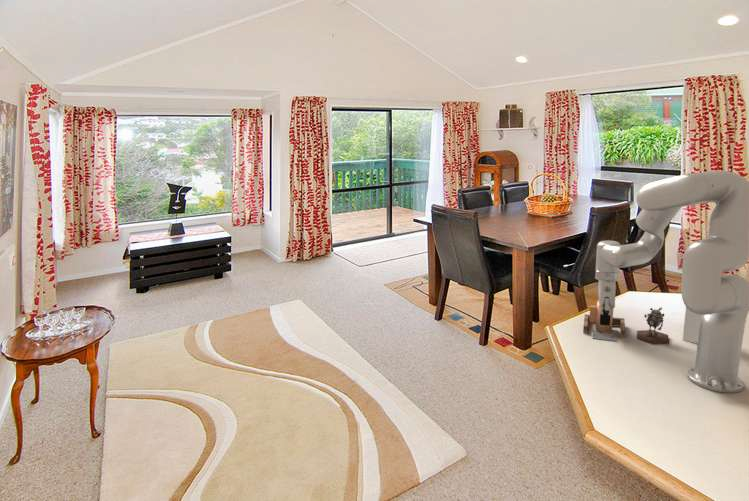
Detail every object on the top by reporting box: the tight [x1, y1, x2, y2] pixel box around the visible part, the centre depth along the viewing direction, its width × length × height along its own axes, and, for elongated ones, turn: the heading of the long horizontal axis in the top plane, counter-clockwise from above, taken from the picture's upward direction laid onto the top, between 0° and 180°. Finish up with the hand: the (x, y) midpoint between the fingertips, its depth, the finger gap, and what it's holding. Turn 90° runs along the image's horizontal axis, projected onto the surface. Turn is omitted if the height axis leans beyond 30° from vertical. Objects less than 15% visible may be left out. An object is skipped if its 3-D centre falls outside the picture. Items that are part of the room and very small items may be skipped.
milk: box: [682, 306, 702, 345], centre depth 144 cm, size 6×6×22 cm
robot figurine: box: [636, 306, 670, 345], centre depth 149 cm, size 11×9×12 cm
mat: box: [592, 332, 616, 342], centre depth 153 cm, size 5×7×1 cm
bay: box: [582, 314, 627, 339], centre depth 159 cm, size 12×13×3 cm
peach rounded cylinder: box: [589, 299, 615, 334], centre depth 158 cm, size 6×8×11 cm
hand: (604, 321), depth 158 cm, fingers closed on peach rounded cylinder, 5 cm apart
